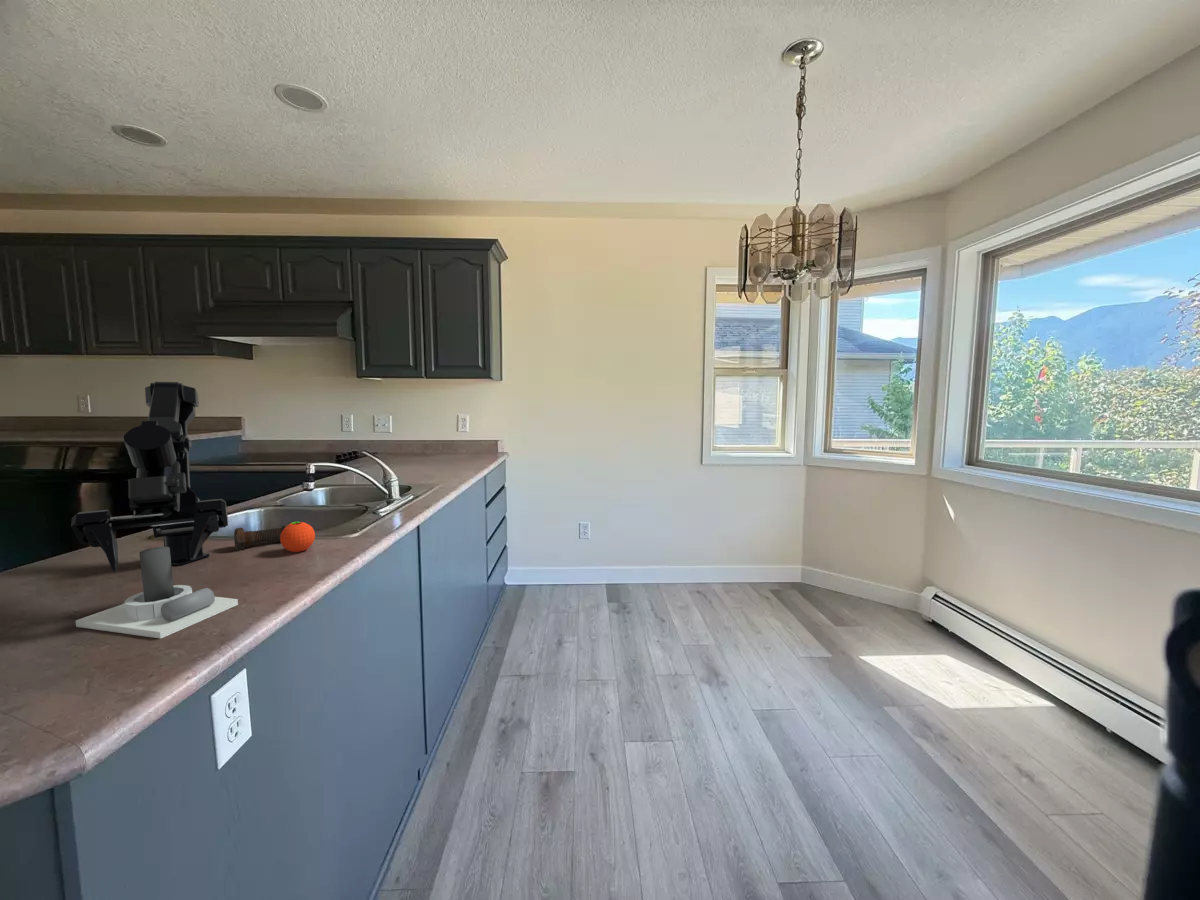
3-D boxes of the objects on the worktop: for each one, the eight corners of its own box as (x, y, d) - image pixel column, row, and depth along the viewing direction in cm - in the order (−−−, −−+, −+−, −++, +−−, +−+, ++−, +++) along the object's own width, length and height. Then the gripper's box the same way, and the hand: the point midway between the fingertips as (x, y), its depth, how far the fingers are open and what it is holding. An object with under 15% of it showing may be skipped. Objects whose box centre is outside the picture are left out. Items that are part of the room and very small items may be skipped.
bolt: (309, 545, 122) (236, 556, 112) (305, 532, 125) (233, 541, 115) (311, 528, 119) (237, 538, 109) (307, 515, 122) (234, 523, 112)
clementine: (274, 551, 111) (271, 521, 110) (306, 544, 116) (304, 515, 116) (288, 558, 106) (286, 527, 105) (321, 550, 112) (319, 520, 111)
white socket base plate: (76, 626, 74) (73, 602, 74) (161, 595, 86) (159, 574, 85) (160, 638, 70) (158, 612, 70) (237, 604, 82) (236, 582, 82)
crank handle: (142, 610, 77) (135, 551, 76) (170, 602, 80) (164, 545, 79) (150, 615, 75) (144, 555, 74) (179, 607, 79) (173, 548, 78)
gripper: (67, 462, 73) (52, 549, 65) (221, 454, 84) (224, 528, 76) (86, 503, 80) (75, 586, 72) (226, 490, 91) (229, 562, 83)
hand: (154, 564), depth 76 cm, fingers open, 9 cm apart
